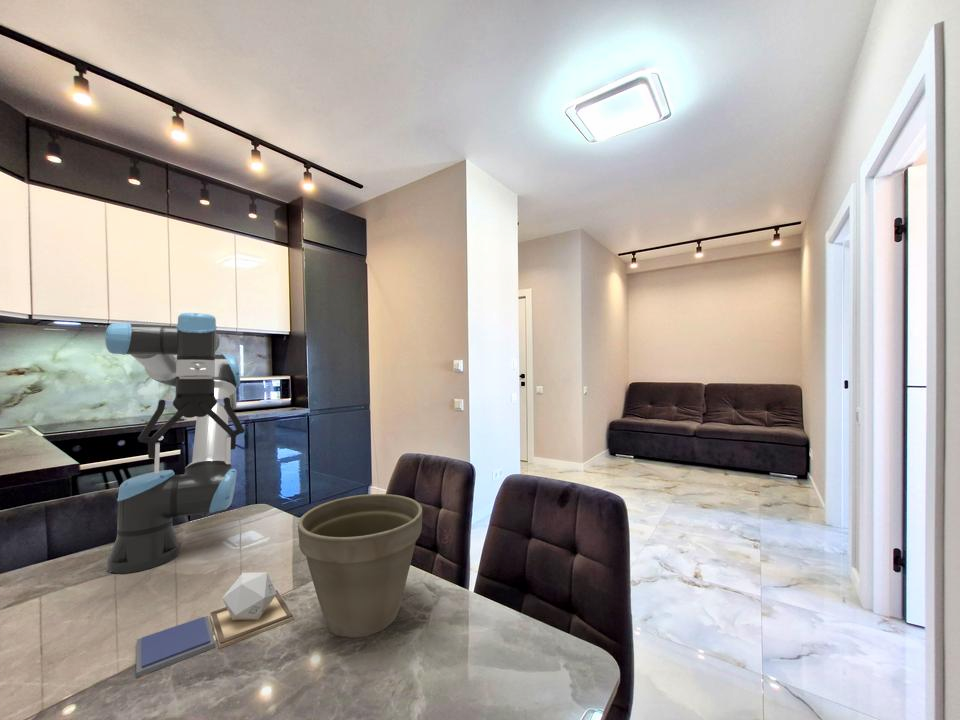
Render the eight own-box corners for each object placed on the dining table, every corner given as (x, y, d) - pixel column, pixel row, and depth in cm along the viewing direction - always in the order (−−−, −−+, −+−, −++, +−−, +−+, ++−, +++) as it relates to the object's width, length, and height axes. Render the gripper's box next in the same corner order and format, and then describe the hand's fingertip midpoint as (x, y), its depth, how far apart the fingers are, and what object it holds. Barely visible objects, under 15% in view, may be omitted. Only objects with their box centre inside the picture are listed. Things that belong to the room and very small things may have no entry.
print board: (209, 616, 82) (209, 612, 82) (277, 593, 90) (277, 589, 90) (219, 648, 72) (219, 643, 72) (294, 619, 80) (294, 615, 80)
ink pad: (136, 644, 73) (136, 637, 73) (207, 619, 81) (207, 613, 81) (136, 677, 65) (136, 670, 65) (215, 647, 72) (215, 640, 72)
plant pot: (368, 678, 65) (369, 545, 66) (267, 637, 75) (269, 523, 76) (444, 599, 87) (443, 501, 88) (358, 576, 98) (359, 488, 99)
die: (236, 639, 75) (273, 587, 78) (203, 611, 76) (240, 561, 80) (259, 628, 82) (291, 582, 86) (229, 603, 84) (261, 558, 88)
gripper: (125, 378, 82) (121, 480, 81) (258, 377, 99) (256, 462, 98) (126, 378, 88) (123, 473, 87) (251, 377, 104) (250, 457, 103)
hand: (193, 467), depth 92 cm, fingers open, 13 cm apart
